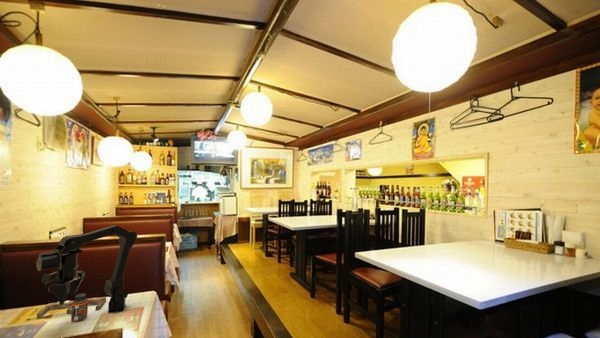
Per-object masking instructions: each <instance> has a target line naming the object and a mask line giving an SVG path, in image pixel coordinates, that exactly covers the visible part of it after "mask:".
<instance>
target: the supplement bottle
mask: <svg viewBox="0 0 600 338" xmlns="http://www.w3.org/2000/svg"><path fill="white" fill-rule="evenodd" d="M74 296H75V297H74V298H75V299H74V300H72V301H73V302H72V314H70V321H71V322H72V323H79V322H82V321H85V320H86V319H87V317H88V309H89V308H88V307H89V306H88V298H87V294H86V293H79V294H75V295H74Z"/></svg>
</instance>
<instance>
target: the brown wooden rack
mask: <svg viewBox="0 0 600 338" xmlns="http://www.w3.org/2000/svg"><path fill="white" fill-rule="evenodd" d="M87 299H88V307H90V306H91V307H92V306H95V312H96V311H100V310H101V308H102V307H103V306H104V305H105V303H106V302H107V297H106V296H103V297H90V298H87ZM73 301H74V300H65V302H64V304H63V305H60V303H59V301H57V302H51V303H48V304H46V305H45V307H43V308H42V309H40V311H39V312H37V313H36V319H40V318H41V319H42V317H43V316H44V315H45V314H47V313H48V312H49V311H57V310H56V309H58V310H63V309H65V310H66V311H65V313H66V314H65V315H71V314H72V302H73Z"/></svg>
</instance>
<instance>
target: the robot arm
mask: <svg viewBox="0 0 600 338" xmlns="http://www.w3.org/2000/svg"><path fill="white" fill-rule="evenodd" d="M112 235H114V236H116V237H117V238H118V239H119V240H118V242H119V243H118V245H119V249H118V254H117V258H116V261H115V264H114V268H113V273H112V275H111V277H110V278H109V280H108V279H107V280H105V284H104V287H103V289H104V292H105V294H106V295H107V296H108V297H110V299H109V301H108V306H107V307H108V309H107V310H108V311H107V313H111V314H113V313H118V312H123V311H125V310H126V307H127V304H126V298H128V295H129V292H128V291H126V290H125V288H124V286H125V281H124V274H125V270H126V267H127V263H128V259H129V256H130V251H131V249H132V247H133V246H134V245H135V243H136V241H137V239H138V234H137V233H136V232H135V231H132V230H127V229H125V228H122V227H120V226H119V225H114V224H111V225H110V226H106V227H103V228H99V229H95V230H93V231H90V232H86V233H82V234H81V233H80V234H71V235H70V234H69V235H66V236H63V237H62V238H60V241H59V243H58V245H57V246H56V247H55V248H54V249H53V250H52V252H47V253H39V254H38V257H37V259H36V269H37V271H38V272H41V271H47V270H50V269H54V268H55V269H56V268H57V267H58V266H59V268H58V269H57V270H56V271H54V272H52V273H47V274H44V275H42V278H41V283H44V284H45V285H48V284H49V283H52V282H54V283H52V284H51V285H49V286H48V288H47V289H48V291H47V292H48V293H51V294H54V295H55V296H56V298H57V300H58V301H57V302H59V303H60V305H63V304H64V302H65V301H67V300H66V299H67V297H68V294H69V293H70V297H74V296H75V295H76V294H77V293H76V292H77V291H78V288H79V287H80V285H81V283H82V281H83V280H84V277H86V272H85V271H84V270H78V268H79V267H80V265H79V264H78V255H79V254H83V253H84V251H83V250H82V249H81V248H80V247H83V246H84V245H86V244H87V243H90V242H92V241H96V240H99V239H102V238H106V237H108V236H112Z"/></svg>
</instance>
